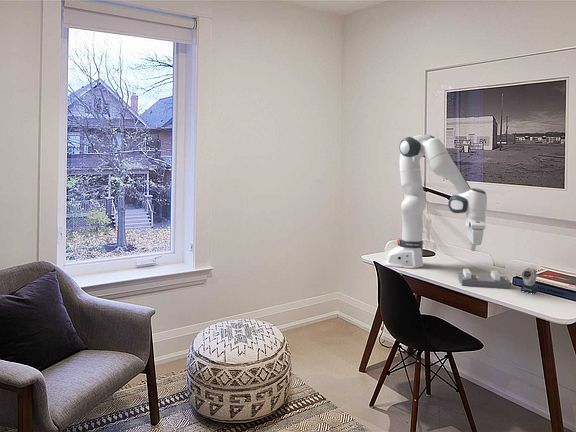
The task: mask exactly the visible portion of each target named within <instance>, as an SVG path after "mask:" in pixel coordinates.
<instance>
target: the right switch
mask: <svg viewBox="0 0 576 432" xmlns="http://www.w3.org/2000/svg"><path fill="white" fill-rule="evenodd" d="M490 275H491V277H492V278H493V279H494V280H495V281H500V276H501V274H500V273H499V272H498V271H497V270H490Z"/></svg>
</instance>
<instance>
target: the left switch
mask: <svg viewBox="0 0 576 432" xmlns="http://www.w3.org/2000/svg"><path fill="white" fill-rule="evenodd" d="M462 274H463V275H464V277H465V278H466V279H471V274H472V272H471V271H470V269H469V268H463V269H462Z"/></svg>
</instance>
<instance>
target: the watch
mask: <svg viewBox="0 0 576 432" xmlns="http://www.w3.org/2000/svg"><path fill="white" fill-rule="evenodd" d="M521 277H522V281H523V284H520V292H522V291H524V292H523V293H526V292H528V293H527V294H530V293H532V294H531V295H534V294H537V293H538V287H539V285H535V283H536V280H537V278H538V276H537V269H536V268H531V267H528V268H526V269H524V270H523V271H522V273H521ZM536 292H537V293H536ZM533 293H534V294H533Z"/></svg>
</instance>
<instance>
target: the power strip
mask: <svg viewBox="0 0 576 432" xmlns="http://www.w3.org/2000/svg"><path fill="white" fill-rule="evenodd" d="M457 277H458V281H459V283H460V284H461V286H462V287H463V286H465V287H478V288H479V287H480V288H489V289H490V288H493V289H504V290H505V289H507V290H511V289H512V284H513V282H512V281H510V279H509V278H508V277H507V276H506V275H504V276H503V275H500V281H495V280H494V279H493V278H492V277H491V274H490V275H489V274H475V273H471V279H466V278H465V277H464V275H463V272H462V273H458V276H457Z"/></svg>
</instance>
